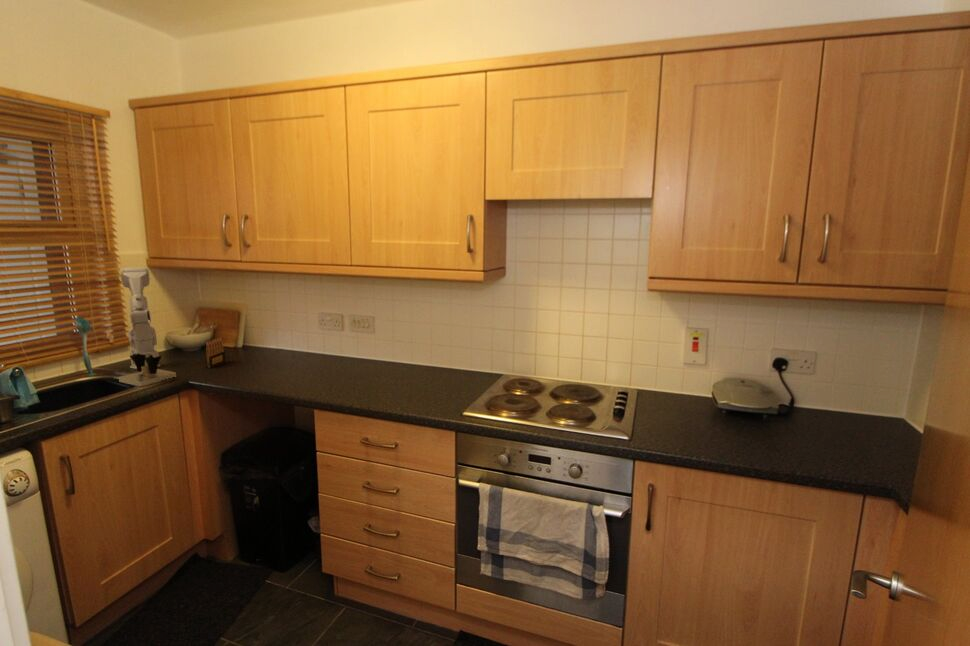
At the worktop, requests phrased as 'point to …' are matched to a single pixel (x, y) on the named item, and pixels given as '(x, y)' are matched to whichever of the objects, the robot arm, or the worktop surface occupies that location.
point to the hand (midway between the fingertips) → (147, 372)
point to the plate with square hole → (146, 378)
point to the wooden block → (146, 371)
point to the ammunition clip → (215, 353)
